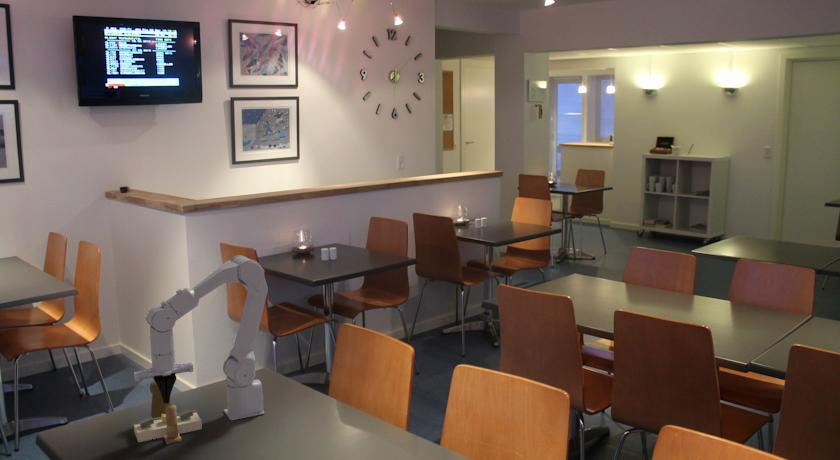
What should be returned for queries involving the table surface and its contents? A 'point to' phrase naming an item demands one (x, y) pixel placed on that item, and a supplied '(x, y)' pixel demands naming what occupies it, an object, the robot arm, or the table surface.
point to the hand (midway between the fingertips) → (166, 402)
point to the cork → (157, 401)
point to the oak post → (172, 425)
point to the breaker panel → (161, 427)
